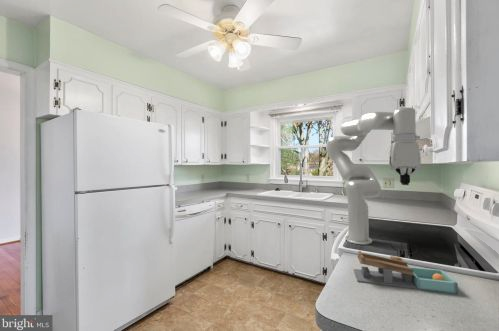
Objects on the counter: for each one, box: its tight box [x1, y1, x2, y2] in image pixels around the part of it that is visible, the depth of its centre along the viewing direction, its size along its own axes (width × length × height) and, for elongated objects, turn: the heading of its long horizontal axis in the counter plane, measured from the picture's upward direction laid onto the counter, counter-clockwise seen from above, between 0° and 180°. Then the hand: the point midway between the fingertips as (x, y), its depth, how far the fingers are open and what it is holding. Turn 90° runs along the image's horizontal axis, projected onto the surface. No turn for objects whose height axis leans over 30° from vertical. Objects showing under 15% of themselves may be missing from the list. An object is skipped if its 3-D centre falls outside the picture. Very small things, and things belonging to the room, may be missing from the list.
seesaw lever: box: [357, 250, 414, 276], centre depth 83 cm, size 13×16×3 cm
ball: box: [432, 273, 445, 281], centre depth 75 cm, size 3×3×3 cm
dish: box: [408, 266, 459, 295], centre depth 76 cm, size 9×10×3 cm
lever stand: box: [353, 266, 418, 290], centre depth 80 cm, size 9×17×5 cm, turn 73°
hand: (405, 184), depth 94 cm, fingers closed
